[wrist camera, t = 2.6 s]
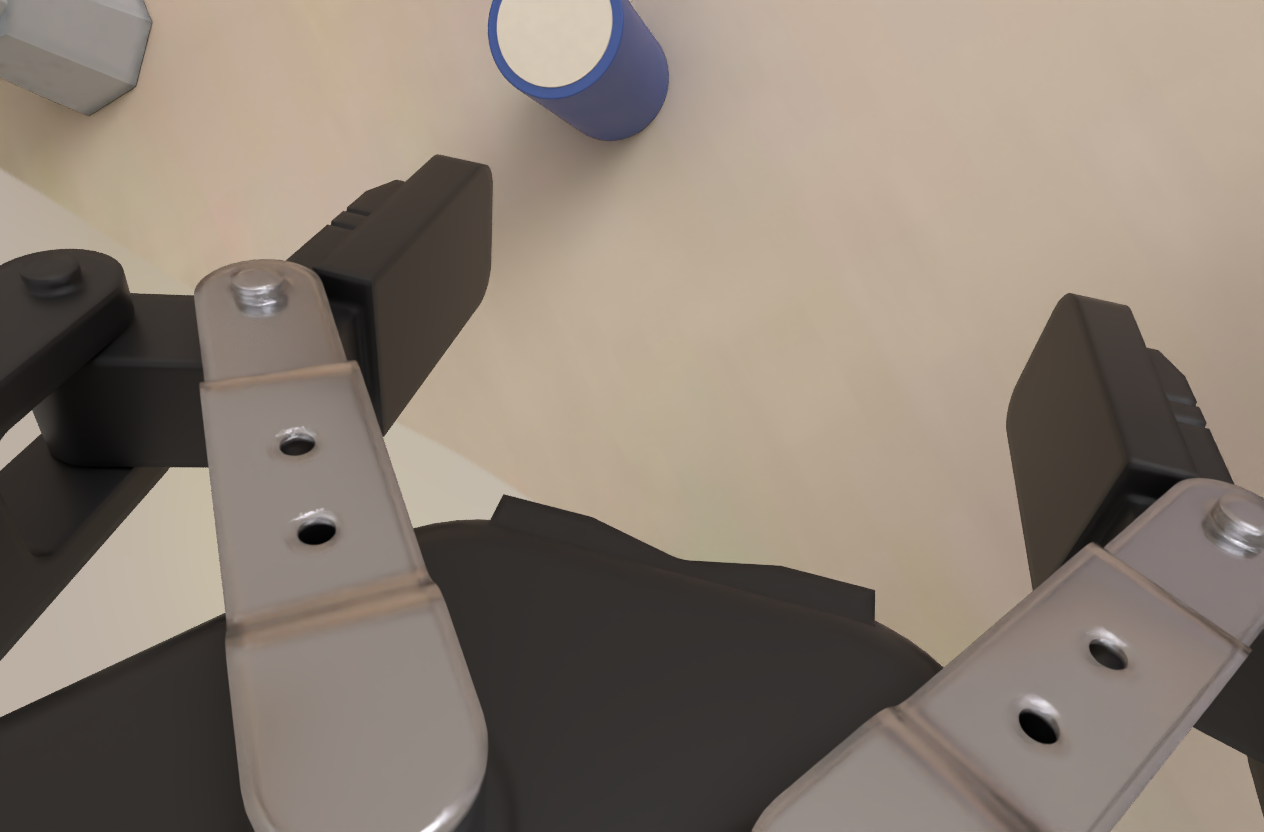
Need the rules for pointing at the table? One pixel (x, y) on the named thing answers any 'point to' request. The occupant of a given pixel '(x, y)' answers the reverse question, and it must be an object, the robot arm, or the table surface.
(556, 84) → the blue cylinder with handle
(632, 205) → the table surface
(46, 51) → the coffee maker
